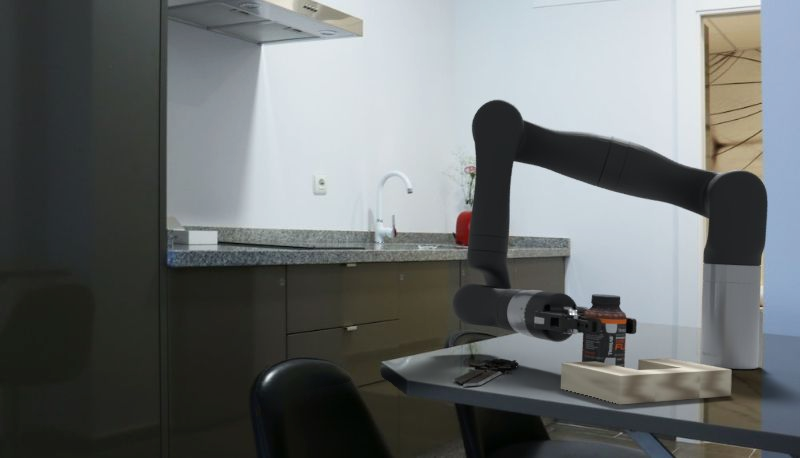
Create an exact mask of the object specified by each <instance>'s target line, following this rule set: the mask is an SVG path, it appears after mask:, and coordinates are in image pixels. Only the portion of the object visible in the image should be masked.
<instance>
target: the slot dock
mask: <svg viewBox="0 0 800 458" xmlns="http://www.w3.org/2000/svg"><path fill="white" fill-rule="evenodd" d="M637 361H638V363H637V364H638V365H637V369H635V368H629V367H626V366H625V367H620V366H615V365H611V364H606V363H601V362H596V361H594V362H582V361H574V362H573V361H572V362H561V366H560V368H561V369H560V370H561V374H560V390H562V389H564V390H563V391H566V390H568V391H567V392H570V391H572V392H571V393H574V392H576V393H575V394H577V393H580V394H579V395H581V394H584V395H583V396H585V395H588V396H587V397H589V396H592V397H591V398H593V397H596V398H599V399H598V400H600V399H602V400H601V401H604V400H606V401H605V402H608V401H609V402H608V403H612V402H613V404H615V403H616V405H629V404H641V403H642V404H643V403H657V402H658V403H659V402H669V401H670V402H671V401H680V400H681V401H682V400H683V401H684V400H695V399H705V398H706V399H709V398H721V397H722V398H723V397H731V396H732V373H733V372H732V368H722V367H714V366H709V365H704V364H701V363H699V362H698V363H697V362H692V361H686V360H680V359H675V358H670V357H669V358H663V357H662V358H646V359H644V358H642V359H641V358H640V359H637ZM596 398H595V399H596Z"/></svg>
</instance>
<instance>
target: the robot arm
mask: <svg viewBox="0 0 800 458" xmlns="http://www.w3.org/2000/svg"><path fill="white" fill-rule="evenodd" d="M471 133H472V134H471V135H472V138H473V142H474V150H475V181H474V182H475V183H474V189H473V190H474V191H473V200H472V207H471V215H470V223H469V232H468V242H467V255H466V262H467V266H468V267H469V268H470V269H471V270H474V271H476V272H478V273H480V274H481V275H482V276H483V278H484V282H485V285H484V284H478V283H467V284H464V285H463V286H461V287H459V288H458V289H457V290H456V292H455V293H454V295H453V298H452V309H453V314H454V315H455V316H456V318H457V319H458V321H460V322H462V323H464V324H467V325H473V326H479V327H480V326H482V327H483V326H484V327H493V328H499V329H501V330H502V329H503V330H504V331H508V332H509V331H510V332H513V333H517V334H518V333H519V334H521V335H524V336H527V337H530V338H535V339H539V340H545V341H549V342H554V343H560V342H561V343H562V342H564V341H566V340H568V339H570V338H571V337H572V336H573V335H577V334H583V333H587V334H593V335H600V334H601V323H602V322H601V320H600V319H596V318H590V317H584V313H585V311H586V310H588V309H589V308H588V307H587V306H579V305H578V306H577V303H576V302H575V300H574V299H573V298H572V297H571V296H570V295H568V294H566V293H563V292H554V291H547V290H539V289H538V290H537V289H529V290H525V289H519V288H517V289H516V288H512V285H511V280H510V279H511V278H510V272H509V267H508V261H507V260H508V251H509V250H508V249H509V237H510V226H511V224H510V221H511V220H510V219H511V215H510V213H511V210H510V208H511V205H510V204H511V186H512V185H511V183H512V175H513V168H514V162H515V163H520V164H524V165H525V164H526V165H530V166H531V165H532V166H535V167H540V168H543V169H546V170H549V171H551V172H554V173H557V174H558V175H562V176H565V177H567V178H570V179H573V180H576V181H579V182H582V183H585V184H587V185H590V186H595V187H596V188H601V189H603V190H604V189H605V190H608V191H610V192H615V193H618V194H623V195H626V196H631V197H634V198H640V199H644V200H648V201H649V200H650V201H655V202H661V203H666V204H669V205H672V206H676V207H678V208H681V209H684V210H687V211H690V212H691V213H694V214H697V215H699V216H701V217H703V218H705V219H708V228H707V237H706V238H707V239H706V243H705V246H704V249H703V256H702V257H703V258H702V292H701V293H702V296H701V320H700V324H701V325H700V345H699V346H700V347H699V349H700V350H699V364H703V365H709V366H714V367H720V368H725V369H733V370H734V369H735V370H736V369H737V370H752V369H753V370H755V369H758V368H761V367H762V361H763V359H762V358H763V355H762V354H763V330H764V329H763V327H764V326H763V325H764V311H762V310H761V287H762V286H761V285H762V283H761V278H762V277H761V276H762V258H763V257H762V256H763V253H764V250H765V247H766V238H767V226H768V225H767V221H768V208H769V207H768V206H769V205H768V204H769V203H768V192H767V188H766V186H765V183H764V182H763V181H762V179H761V178H760V177H759V176H758V175H756V174H755V173H753V172H752V171H749V170H745V169H734V170H729V171H728V170H727V171H726V172H719V171H712V170H707V169H703V168H698V167H692V166H688V165H685V164H682V163H679V162H678V161H674V159H673V160H672V159H671V158H669V157H667V156H665V155H663V154H661V153H659V152H658V151H656V150H653V149H651V148H649V147H646V146H644V145H641V144H640V143H639V144H638V143H637V142H634V141H630V140H627V139H623V138H620V137H616V136H612V135H609V134H603V133H599V132H589V131H575V130H574V131H573V130H572V131H571V130H561V129H560V130H559V129H556V128H550V127H546V126H543V125H541V124H537V123H534V122H532V121H529V120H527V119H524V118H523V116H522V114H521V112H520V111H519V109H518V108H517V107H516V106H515V104H513V103H511V102H510V101H507V100H504V99H493V100H489V101H487V102H485V103H484V104H482V105H481V106H480V107H479V108H478V109H477V111H476V112H475V113H474V115H473V119H472V122H471ZM637 324H638V323H637V319H636V318H632V317H627V316H626V335H627V334H628V335H636V333H637Z"/></svg>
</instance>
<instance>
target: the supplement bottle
mask: <svg viewBox="0 0 800 458" xmlns="http://www.w3.org/2000/svg"><path fill="white" fill-rule="evenodd" d="M590 303H591V307H590V308H588V310H586V311H585V313H584V317H590V318H596V319H600V320H601V322H602V323H601V334H600V335H593V334H587V333H582V348H581V349H582V350H581V351H582V352H581V353H582V354H581V362H594V361H596V362H601V363H606V364H611V365H615V366H620V367H625V368H626V366H625V363H626V362H625V360H626V359H625V358H626V338H627V333H626V317H627V315H626V313H625V312H624V311H623V310H622V309H621V307H620V306H621V296H620V295H615V294H601V293H600V294H594V293H593V294H592V295H591V302H590Z"/></svg>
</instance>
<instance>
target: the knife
mask: <svg viewBox="0 0 800 458" xmlns="http://www.w3.org/2000/svg"><path fill="white" fill-rule="evenodd" d="M488 366H492V367H491V368H490V370H488V369H489V368H488ZM516 366H517V367H519V362H518V361H517V359H516V360H515V359H513V360H510V359H506V358H492V359H484V360H481V361H480V364H477V363H469V368H473V369H469V371H468V372H466V373H465V374H462V375H460V376H457V377H455V378H454V380H455V381H456V382H457V383H459V384H461V385H462V387H474V386H475V387H476V386H481V385H484V384H485V383H488V381H491V380H493V379H494V378H497V377H499V376H501V375H504V374H505V373H507V374H506V375H512V374H513V373H512V372H513V371H515V370H517V367H516ZM514 369H515V370H514ZM512 370H513V371H512ZM507 371H508V372H507ZM509 373H510V374H509Z"/></svg>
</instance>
